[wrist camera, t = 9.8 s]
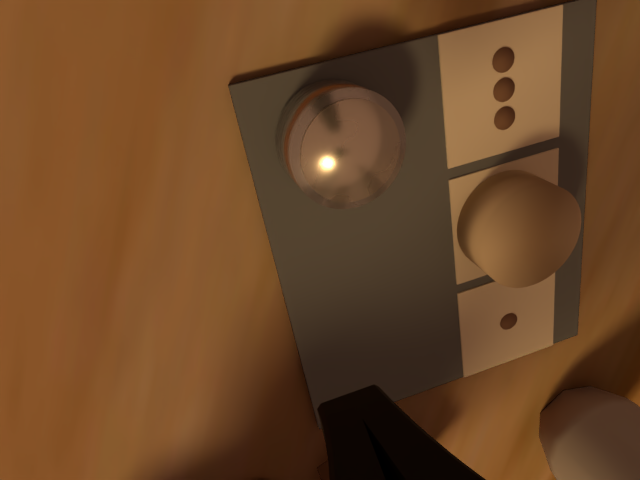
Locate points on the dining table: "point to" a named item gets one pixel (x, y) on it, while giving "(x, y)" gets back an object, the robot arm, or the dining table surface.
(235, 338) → the dining table surface
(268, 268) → the dining table surface
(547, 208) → the beech disc
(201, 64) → the dining table surface
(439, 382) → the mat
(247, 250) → the dining table surface
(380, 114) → the tealight tin
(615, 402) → the salt shaker
